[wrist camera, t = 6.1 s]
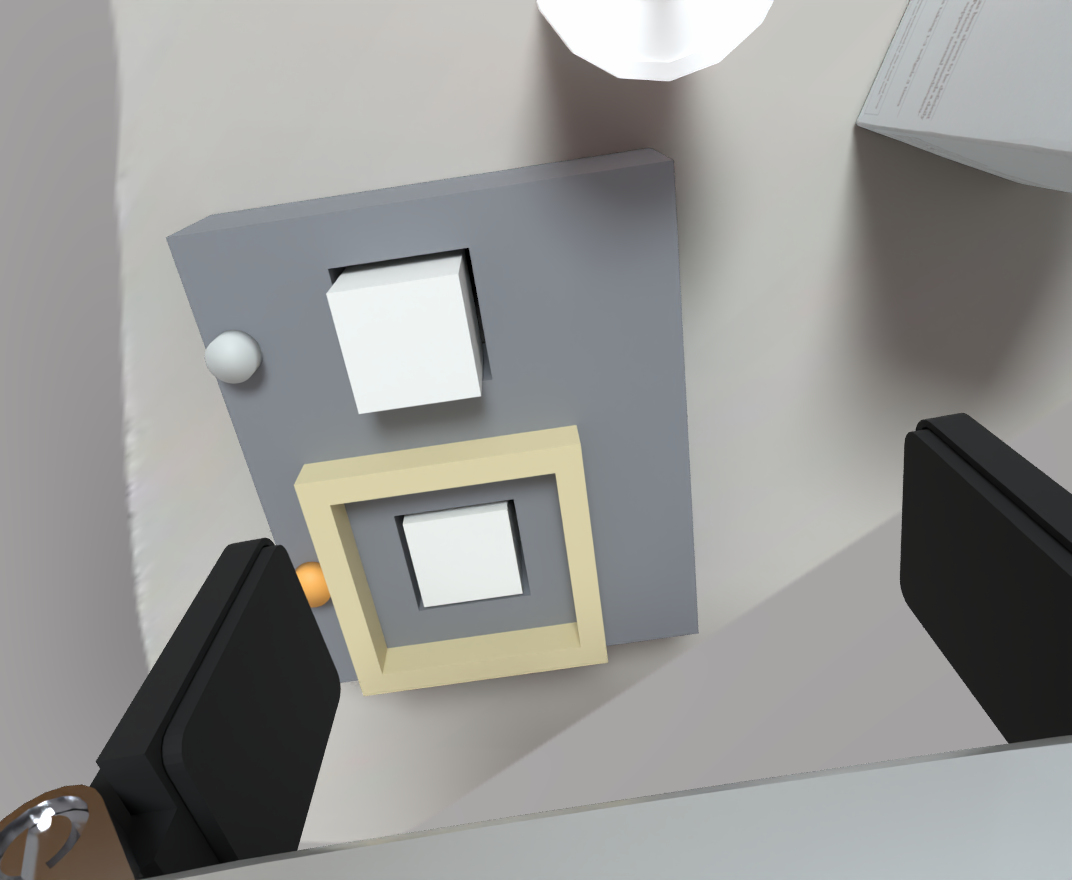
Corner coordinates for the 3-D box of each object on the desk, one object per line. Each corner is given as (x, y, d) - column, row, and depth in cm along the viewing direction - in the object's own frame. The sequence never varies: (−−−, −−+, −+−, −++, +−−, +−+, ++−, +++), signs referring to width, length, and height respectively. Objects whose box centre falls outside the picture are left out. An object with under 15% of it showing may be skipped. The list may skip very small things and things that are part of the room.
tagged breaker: (506, 459, 32) (507, 509, 28) (520, 537, 33) (522, 593, 30) (413, 473, 32) (402, 524, 28) (432, 549, 34) (424, 607, 30)
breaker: (463, 245, 26) (458, 273, 22) (483, 353, 28) (481, 396, 24) (350, 262, 26) (326, 293, 22) (377, 369, 28) (358, 413, 24)
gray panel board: (650, 148, 26) (684, 166, 22) (678, 575, 35) (707, 658, 30) (210, 215, 27) (145, 247, 22) (343, 622, 35) (318, 711, 30)
